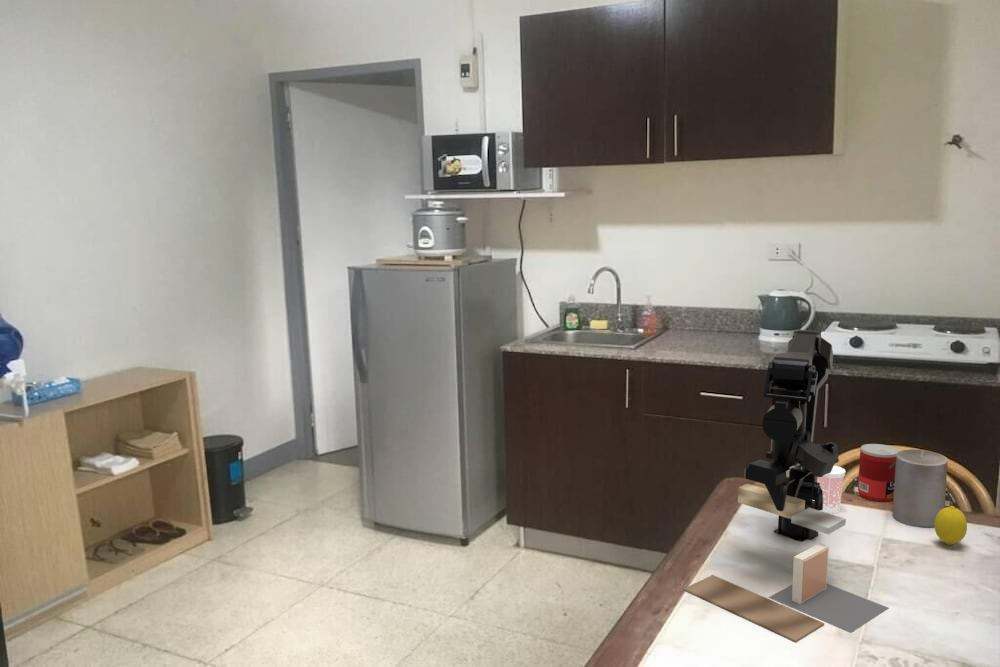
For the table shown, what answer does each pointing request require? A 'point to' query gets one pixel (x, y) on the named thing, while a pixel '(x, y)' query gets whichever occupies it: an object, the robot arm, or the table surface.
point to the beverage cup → (832, 489)
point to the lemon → (950, 525)
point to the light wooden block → (790, 509)
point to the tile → (810, 573)
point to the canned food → (877, 472)
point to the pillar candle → (919, 487)
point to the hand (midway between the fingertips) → (784, 508)
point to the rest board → (755, 608)
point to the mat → (834, 607)
